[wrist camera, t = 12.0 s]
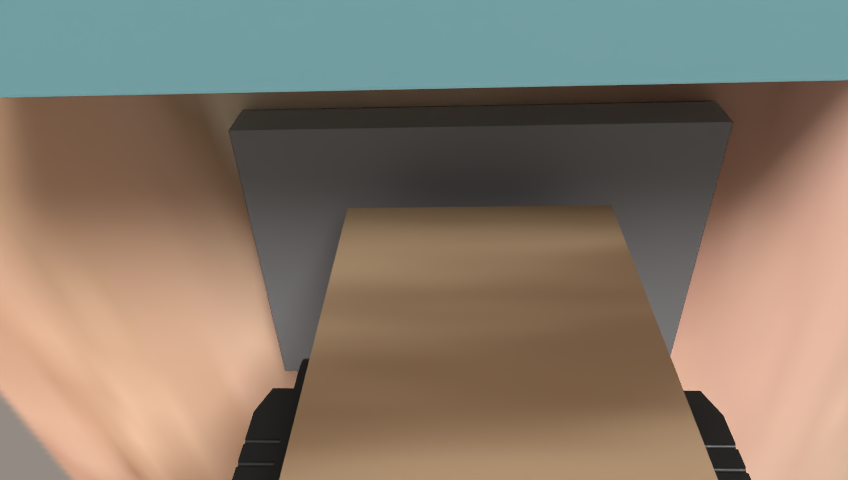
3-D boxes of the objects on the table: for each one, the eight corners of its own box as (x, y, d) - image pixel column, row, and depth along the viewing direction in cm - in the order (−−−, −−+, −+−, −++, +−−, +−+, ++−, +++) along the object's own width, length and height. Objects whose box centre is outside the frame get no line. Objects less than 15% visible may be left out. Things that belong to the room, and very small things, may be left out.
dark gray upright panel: (242, 110, 14) (228, 130, 13) (715, 101, 13) (733, 121, 12) (293, 344, 18) (285, 370, 17) (655, 343, 17) (666, 371, 16)
